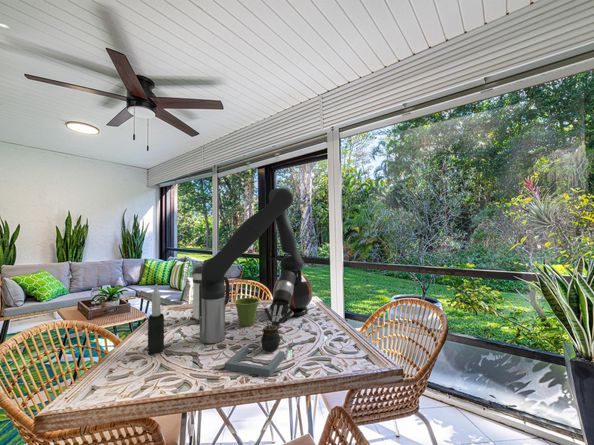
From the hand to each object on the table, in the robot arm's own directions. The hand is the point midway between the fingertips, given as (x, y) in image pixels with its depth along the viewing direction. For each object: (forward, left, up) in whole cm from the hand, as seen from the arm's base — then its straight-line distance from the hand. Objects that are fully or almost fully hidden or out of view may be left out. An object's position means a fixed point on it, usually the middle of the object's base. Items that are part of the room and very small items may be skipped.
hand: (273, 332), depth 110 cm
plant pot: (-21, +18, -5) cm, 28 cm away
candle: (-40, -18, -5) cm, 44 cm away
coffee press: (-44, +20, -5) cm, 49 cm away
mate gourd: (0, -3, -5) cm, 6 cm away
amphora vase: (-6, +42, -5) cm, 43 cm away
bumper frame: (0, -15, -5) cm, 16 cm away
